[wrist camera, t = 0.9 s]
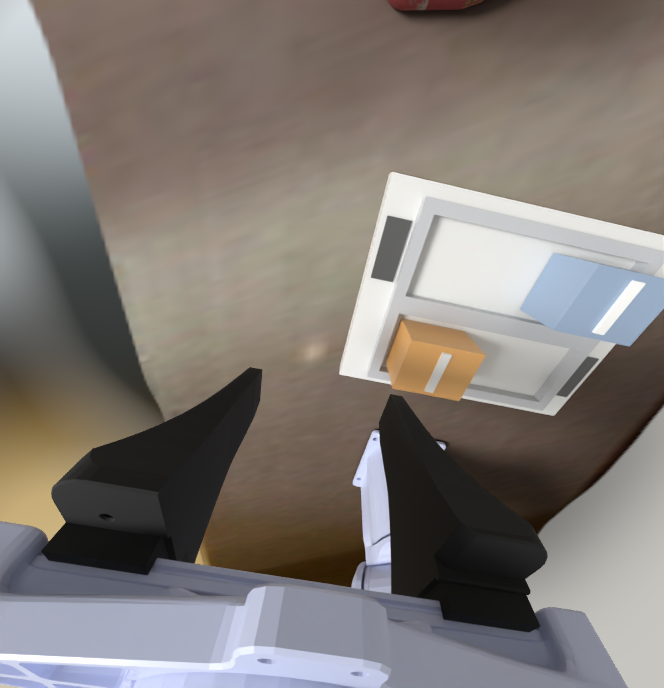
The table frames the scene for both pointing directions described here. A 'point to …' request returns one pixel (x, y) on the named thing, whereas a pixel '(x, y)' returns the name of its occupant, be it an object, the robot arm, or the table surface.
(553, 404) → the white flat tray
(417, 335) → the orange white-striped block
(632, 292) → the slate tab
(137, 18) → the table surface
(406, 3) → the pliers
